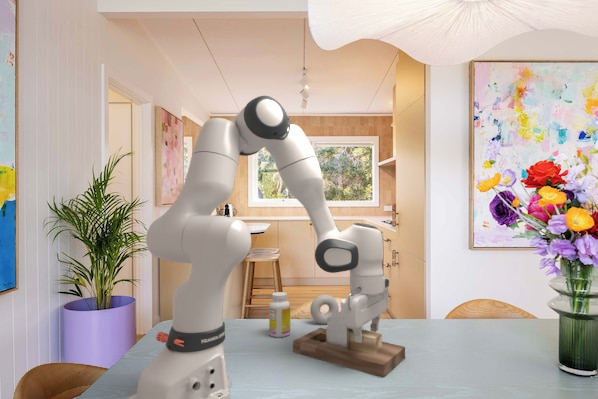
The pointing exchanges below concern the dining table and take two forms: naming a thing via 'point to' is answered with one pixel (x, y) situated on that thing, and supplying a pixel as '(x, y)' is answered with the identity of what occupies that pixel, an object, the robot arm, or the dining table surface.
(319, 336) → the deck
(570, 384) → the dining table surface
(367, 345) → the gold bar
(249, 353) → the dining table surface
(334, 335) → the tunnel
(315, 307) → the donut
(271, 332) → the supplement bottle
